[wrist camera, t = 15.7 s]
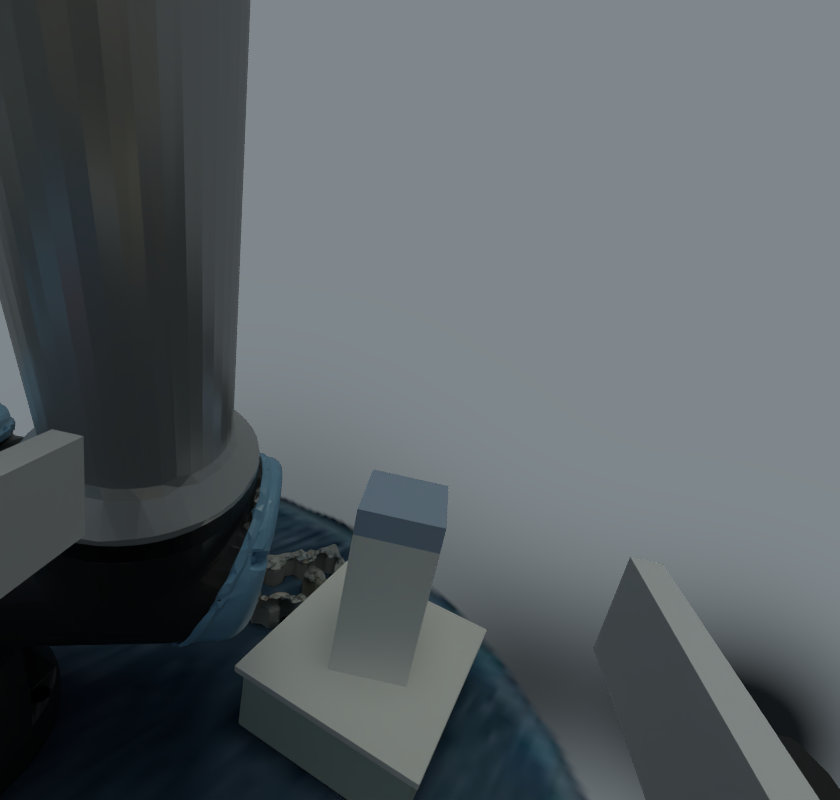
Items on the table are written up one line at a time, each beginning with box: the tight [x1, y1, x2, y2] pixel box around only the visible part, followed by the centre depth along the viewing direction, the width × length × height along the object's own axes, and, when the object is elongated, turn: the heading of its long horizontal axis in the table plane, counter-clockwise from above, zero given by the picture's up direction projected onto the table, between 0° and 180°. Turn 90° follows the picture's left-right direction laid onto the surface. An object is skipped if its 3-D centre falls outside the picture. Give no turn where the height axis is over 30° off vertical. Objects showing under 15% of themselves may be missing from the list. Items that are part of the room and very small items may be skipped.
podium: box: [234, 561, 487, 800], centre depth 39 cm, size 15×15×6 cm
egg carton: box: [251, 544, 345, 628], centre depth 49 cm, size 11×8×4 cm
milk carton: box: [328, 470, 448, 687], centre depth 36 cm, size 6×6×14 cm
